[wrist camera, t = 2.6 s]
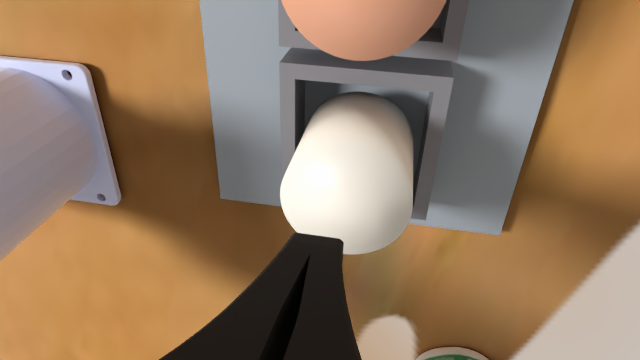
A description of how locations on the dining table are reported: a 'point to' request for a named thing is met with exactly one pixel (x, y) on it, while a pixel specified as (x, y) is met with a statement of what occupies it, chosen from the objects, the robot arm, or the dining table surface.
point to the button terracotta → (363, 25)
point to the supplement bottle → (451, 354)
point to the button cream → (352, 173)
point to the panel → (396, 86)
